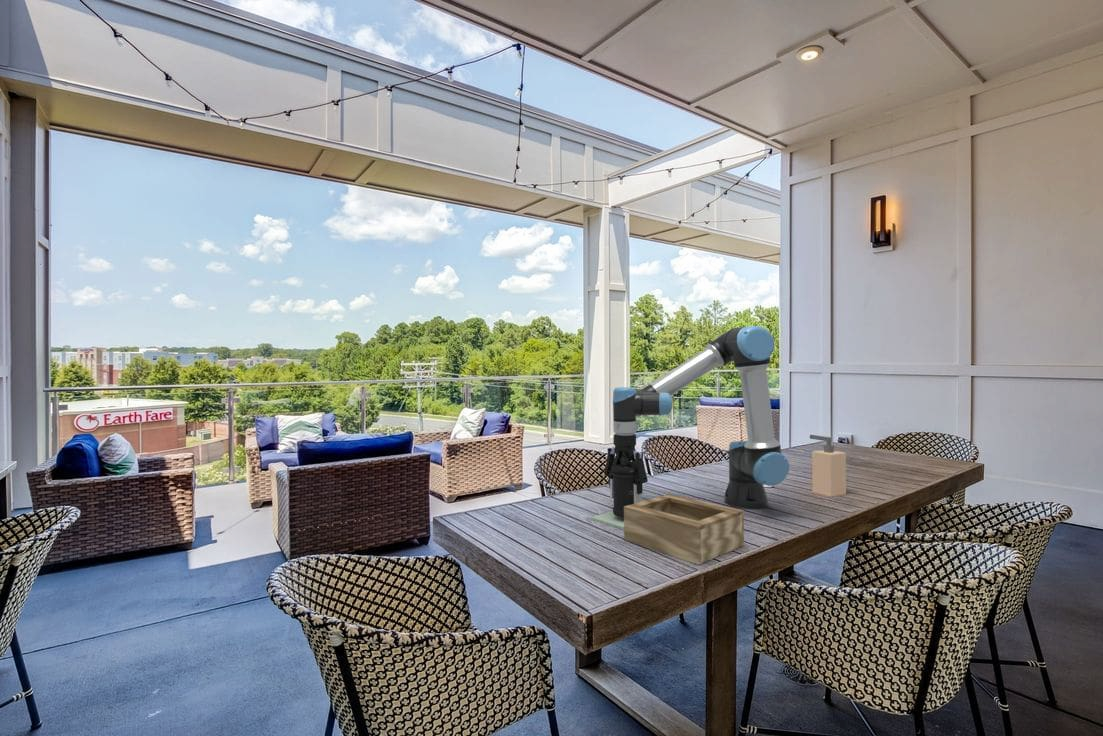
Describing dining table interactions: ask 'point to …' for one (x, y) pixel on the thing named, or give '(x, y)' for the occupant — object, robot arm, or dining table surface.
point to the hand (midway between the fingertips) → (625, 500)
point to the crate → (684, 527)
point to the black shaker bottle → (623, 486)
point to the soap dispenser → (828, 470)
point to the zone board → (610, 520)
